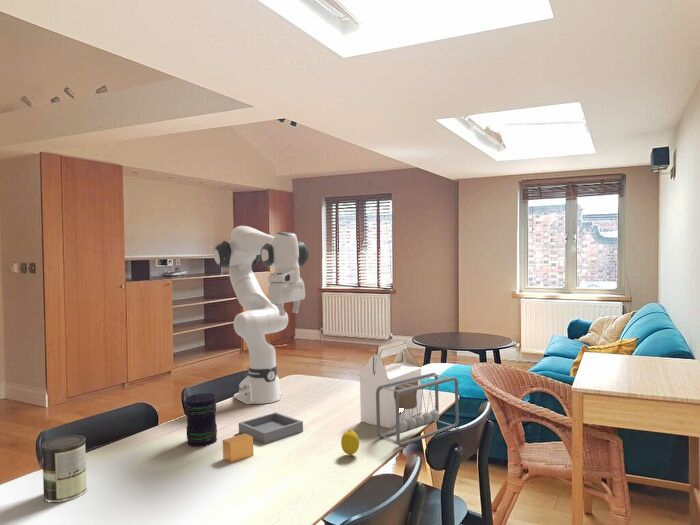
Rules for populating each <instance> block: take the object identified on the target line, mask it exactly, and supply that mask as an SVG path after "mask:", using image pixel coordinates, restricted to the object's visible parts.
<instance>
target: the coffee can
mask: <svg viewBox="0 0 700 525" xmlns="http://www.w3.org/2000/svg"><path fill="white" fill-rule="evenodd" d="M40 448H41V457H42V459H41V460H42V480H43V482H42V483H43V484H42V486H43V500H44V499H45V500H47V501H50V502H60V503H62V502H61V501H66V502H68V501H67V500H69V501H72V500H71V499H73V500H75V499H77V498H80V497H81V496H83V495H84V494H85V493H86V492H87V491H88V486H87V460H86V458H87V457H86V437H85V436H84V435H82V434H81V435H80V434H70V435H69V434H68V435H62V436H58V437H54V438H51V439H48V440H47V441H45V442H43V443H42V444H41V446H40ZM79 496H80V497H79ZM74 498H75V499H74Z"/></svg>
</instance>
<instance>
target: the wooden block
mask: <svg viewBox="0 0 700 525" xmlns="http://www.w3.org/2000/svg"><path fill="white" fill-rule="evenodd" d="M252 456H254V439H253V436H250V435H248V434H246V433H244V434H241V433H240V434H237V435H235V436H232V437H228V438H225V439H222V460H224V461H225V462H228V463H230V464H232V463H236V462H239V461H241V460H245V459H247V458H249V457H250V458H251V457H252Z"/></svg>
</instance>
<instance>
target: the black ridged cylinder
mask: <svg viewBox="0 0 700 525" xmlns="http://www.w3.org/2000/svg"><path fill="white" fill-rule="evenodd" d="M216 399H217V398H216V395H215V394H214V393H197V394H192V395H189V396H187V397H186V398H185V411H186V412H185V415H186V420H187V421H186V423H187V425H186V440H187V441H186V443H187V445H188V446H189V447H192V448H193V447H194V448H200V446H201V448H202V446H203V447H207V446H206V445H208V446H211V445H213V444H215V443H217V440H218V437H217V434H218V429H217V428H218V426H217V422H216V413H217V402H216ZM210 444H211V445H210Z"/></svg>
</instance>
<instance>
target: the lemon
mask: <svg viewBox="0 0 700 525" xmlns="http://www.w3.org/2000/svg"><path fill="white" fill-rule="evenodd" d="M340 445H341V450H343V452H344V453H345V454H346V455H348V456H349V455H350V457H351V455H354V454H356V453H357V452H358V450H359V447H360V439H359V436H358V434H357V433H356V432H355V431H353V430H352V429H348V430H346V431H345V432H344V433H343V434H342V436H341V441H340Z"/></svg>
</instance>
